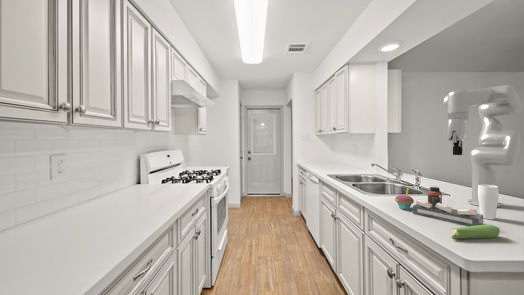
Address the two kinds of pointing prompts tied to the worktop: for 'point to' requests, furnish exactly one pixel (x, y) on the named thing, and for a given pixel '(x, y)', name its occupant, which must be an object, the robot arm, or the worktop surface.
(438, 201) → the supplement bottle
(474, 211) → the block
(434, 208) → the rocker switch panel
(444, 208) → the plate
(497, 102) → the robot arm
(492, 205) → the drinking glass
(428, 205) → the rocker
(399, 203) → the cupcake
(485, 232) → the edible corn
